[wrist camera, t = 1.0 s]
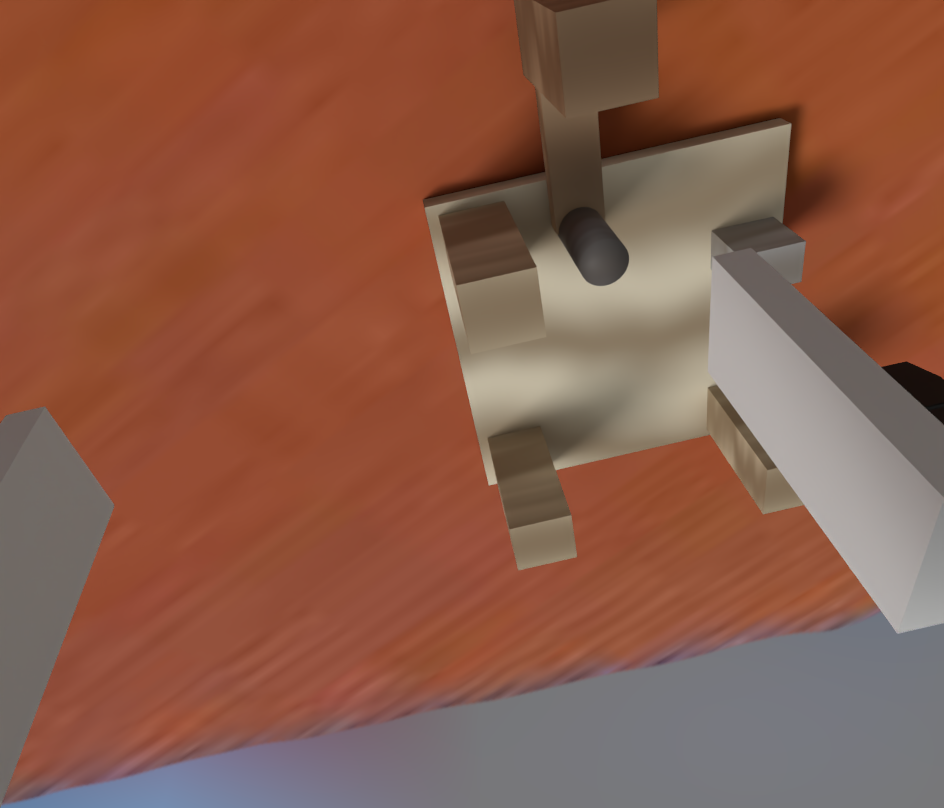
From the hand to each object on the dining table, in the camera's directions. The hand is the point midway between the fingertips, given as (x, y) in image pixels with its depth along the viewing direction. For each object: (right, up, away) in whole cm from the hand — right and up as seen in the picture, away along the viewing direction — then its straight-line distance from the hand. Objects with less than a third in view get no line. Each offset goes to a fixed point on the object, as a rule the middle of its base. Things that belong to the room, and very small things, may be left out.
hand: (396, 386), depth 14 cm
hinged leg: (+5, +11, +15) cm, 19 cm away
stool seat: (+9, +4, +22) cm, 25 cm away
